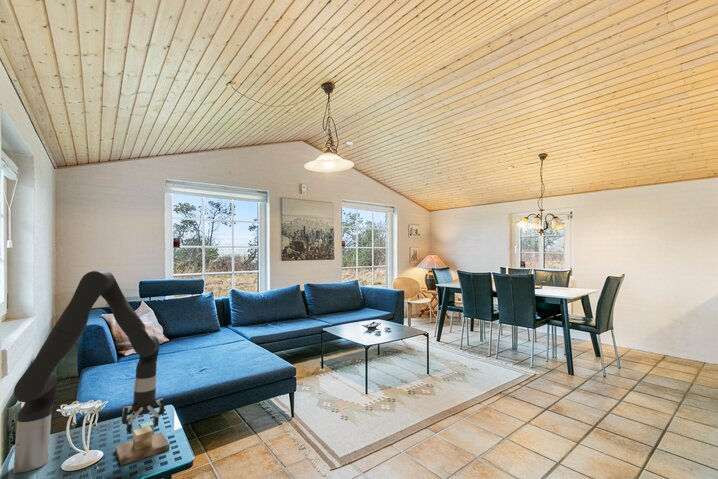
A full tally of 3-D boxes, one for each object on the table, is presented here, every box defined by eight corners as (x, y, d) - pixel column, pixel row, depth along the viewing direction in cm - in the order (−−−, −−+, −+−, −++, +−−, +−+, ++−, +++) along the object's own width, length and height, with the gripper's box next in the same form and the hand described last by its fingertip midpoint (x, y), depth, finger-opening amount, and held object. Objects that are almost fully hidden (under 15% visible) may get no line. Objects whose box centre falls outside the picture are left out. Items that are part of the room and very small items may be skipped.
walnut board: (120, 465, 125) (121, 459, 125) (115, 451, 135) (115, 445, 135) (169, 449, 136) (169, 444, 136) (161, 437, 146) (161, 432, 146)
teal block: (141, 438, 144) (142, 427, 145) (139, 434, 148) (140, 424, 148) (153, 435, 147) (154, 424, 148) (151, 431, 151) (151, 420, 151)
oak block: (135, 450, 132) (136, 435, 132) (132, 444, 136) (133, 430, 136) (151, 445, 135) (152, 430, 136) (148, 439, 139) (149, 425, 140)
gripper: (125, 394, 129) (122, 439, 128) (167, 386, 139) (165, 427, 138) (122, 389, 135) (119, 432, 134) (162, 381, 145) (160, 421, 143)
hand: (142, 429), depth 136 cm, fingers open, 8 cm apart
